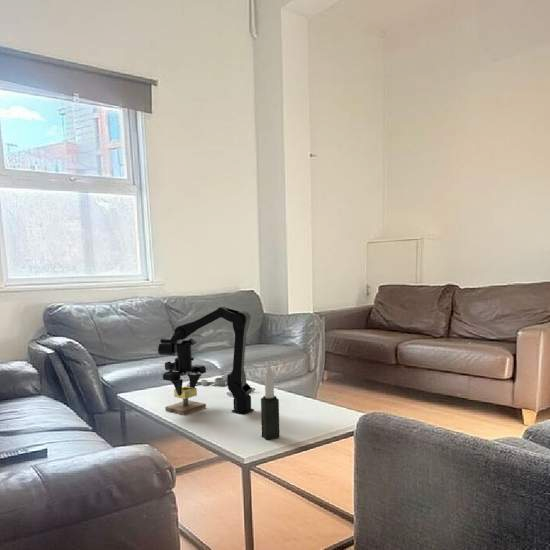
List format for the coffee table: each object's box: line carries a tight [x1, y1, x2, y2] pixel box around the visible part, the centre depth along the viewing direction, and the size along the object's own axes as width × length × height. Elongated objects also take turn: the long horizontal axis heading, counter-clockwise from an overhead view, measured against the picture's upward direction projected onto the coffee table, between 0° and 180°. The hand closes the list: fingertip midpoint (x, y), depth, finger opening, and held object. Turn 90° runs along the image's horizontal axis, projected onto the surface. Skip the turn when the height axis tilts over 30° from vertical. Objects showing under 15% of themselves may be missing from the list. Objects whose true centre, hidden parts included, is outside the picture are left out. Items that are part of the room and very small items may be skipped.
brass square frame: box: [173, 385, 198, 400], centre depth 196 cm, size 6×6×3 cm
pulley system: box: [186, 373, 229, 387], centre depth 240 cm, size 27×5×15 cm
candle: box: [260, 362, 281, 441], centre depth 161 cm, size 5×5×25 cm
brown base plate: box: [164, 398, 207, 416], centre depth 197 cm, size 11×12×6 cm
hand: (185, 393), depth 196 cm, fingers closed on brass square frame, 6 cm apart
